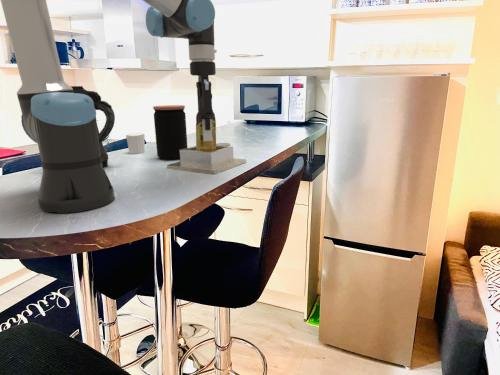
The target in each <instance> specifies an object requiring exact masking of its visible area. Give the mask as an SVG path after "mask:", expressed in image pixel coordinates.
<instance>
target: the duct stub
mask: <svg viewBox="0 0 500 375" xmlns="http://www.w3.org/2000/svg"><path fill="white" fill-rule="evenodd" d="M243 163H244V164H246V163H247V159H243V158H234V146H231V145H230V146H219V145H216V151H212V152H205V151H196V145H193V146H190V147H187V148H185V149H181V150H180V161H177V162H173V163H170V164H166V169H171V170H178V171H185V172H194V173H202V174H208V175H210V174H211V175H216V174H218V173H221V172H224V171H227V170H230V169H232V168H235V167H238V166H240V164H241V165H243Z"/></svg>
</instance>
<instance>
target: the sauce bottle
mask: <svg viewBox="0 0 500 375" xmlns="http://www.w3.org/2000/svg"><path fill="white" fill-rule="evenodd" d="M211 97H212V98H213V94H212V93H211ZM199 99H200V106H199V108H200V109H199V111H198V110H197V112H196V117H195V122H196V124H195V144H196V145H195V146H196V151H205V152H212V151H216V144H217V121H216V115H215V112H214V110H213V109H212V114H213V117H212V141H203V126H202V119H200V118H201V117H203V113H202V102H201V97H200V96H199Z"/></svg>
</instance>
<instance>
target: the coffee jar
mask: <svg viewBox="0 0 500 375" xmlns="http://www.w3.org/2000/svg"><path fill="white" fill-rule="evenodd" d="M185 107H186V106H185V105H178V104H176V105H175V104H173V105H168V104H167V105H155V106H154V105H153V107H152V109H153V110H154V113H153V119H154V120H153V121H154V134H155V144H156V155H157V157H158V159H159V160H163V161H178V160H180V150H181V149H185V148H188V137H187V136H188V134H187V132H188V131H187V120H186V119H187V118H186V116H187V115H186V112H185V111H184V110H185V109H186V108H185Z"/></svg>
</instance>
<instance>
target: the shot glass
mask: <svg viewBox="0 0 500 375" xmlns="http://www.w3.org/2000/svg"><path fill="white" fill-rule="evenodd" d="M125 137H126V142H127V147H128V148H127V149H128V152H129V154H131V155H139V154H140V155H141V154H144V153H145V152H146V151H145V143H146V142H145V141H146V140H145V137H146V136H145V134H144V133H129V134H125Z"/></svg>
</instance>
